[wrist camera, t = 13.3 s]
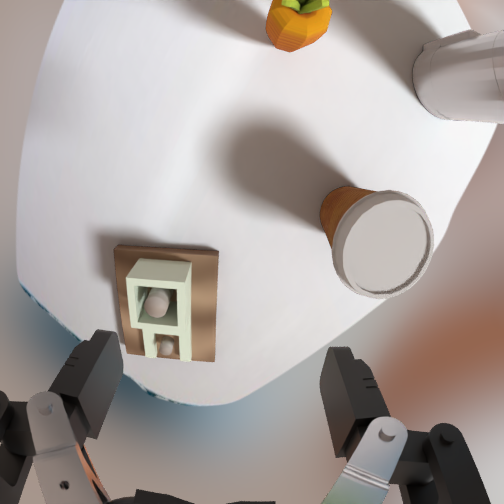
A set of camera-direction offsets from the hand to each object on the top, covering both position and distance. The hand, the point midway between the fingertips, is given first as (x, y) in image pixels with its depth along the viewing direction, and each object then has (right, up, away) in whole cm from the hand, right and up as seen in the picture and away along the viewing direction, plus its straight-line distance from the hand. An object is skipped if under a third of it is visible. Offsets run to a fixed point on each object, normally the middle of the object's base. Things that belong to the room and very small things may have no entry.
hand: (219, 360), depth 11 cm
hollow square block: (-9, -3, +26) cm, 27 cm away
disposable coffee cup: (+12, +8, +24) cm, 28 cm away
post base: (-9, -3, +27) cm, 29 cm away
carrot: (+4, +26, +17) cm, 31 cm away
